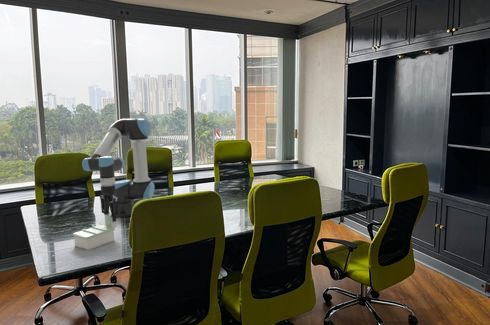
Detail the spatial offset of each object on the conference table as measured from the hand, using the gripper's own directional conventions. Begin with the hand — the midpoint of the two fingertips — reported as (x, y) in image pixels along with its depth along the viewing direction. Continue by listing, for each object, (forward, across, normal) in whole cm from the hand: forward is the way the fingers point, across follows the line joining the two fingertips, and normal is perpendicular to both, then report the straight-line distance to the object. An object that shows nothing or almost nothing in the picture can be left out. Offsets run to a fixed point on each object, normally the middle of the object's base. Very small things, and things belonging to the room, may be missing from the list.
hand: (111, 226), depth 204 cm
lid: (+1, 0, -8) cm, 9 cm away
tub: (+7, 0, -10) cm, 12 cm away
